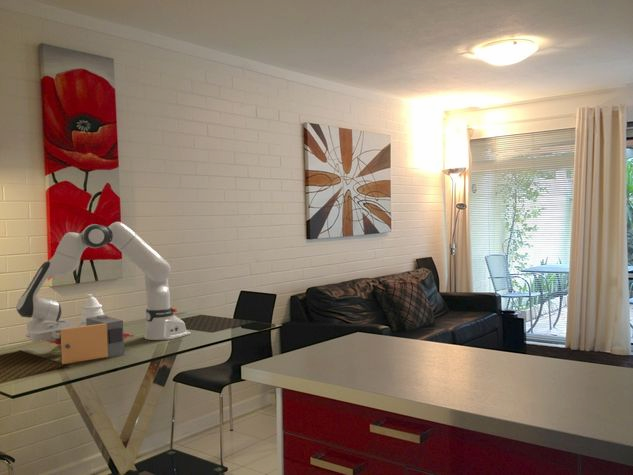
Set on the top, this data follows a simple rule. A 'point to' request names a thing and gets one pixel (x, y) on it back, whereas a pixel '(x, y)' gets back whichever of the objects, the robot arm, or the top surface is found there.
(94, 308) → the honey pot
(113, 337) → the block
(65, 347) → the side door
